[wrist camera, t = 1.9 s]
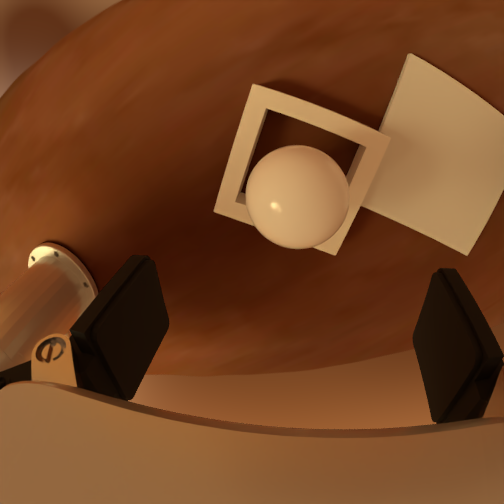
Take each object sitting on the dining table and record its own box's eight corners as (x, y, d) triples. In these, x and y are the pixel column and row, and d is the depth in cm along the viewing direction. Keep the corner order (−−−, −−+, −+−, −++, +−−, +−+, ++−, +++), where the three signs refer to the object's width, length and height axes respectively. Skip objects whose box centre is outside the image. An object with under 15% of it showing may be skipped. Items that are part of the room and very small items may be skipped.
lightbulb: (252, 141, 25) (218, 177, 16) (325, 121, 23) (340, 142, 14) (275, 209, 28) (258, 278, 18) (344, 191, 26) (366, 255, 17)
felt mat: (464, 252, 27) (467, 256, 26) (348, 197, 26) (349, 201, 26) (522, 133, 19) (526, 135, 19) (407, 54, 19) (410, 53, 18)
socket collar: (333, 242, 29) (335, 255, 26) (220, 201, 28) (213, 211, 26) (383, 133, 23) (391, 137, 21) (257, 84, 23) (252, 83, 21)
